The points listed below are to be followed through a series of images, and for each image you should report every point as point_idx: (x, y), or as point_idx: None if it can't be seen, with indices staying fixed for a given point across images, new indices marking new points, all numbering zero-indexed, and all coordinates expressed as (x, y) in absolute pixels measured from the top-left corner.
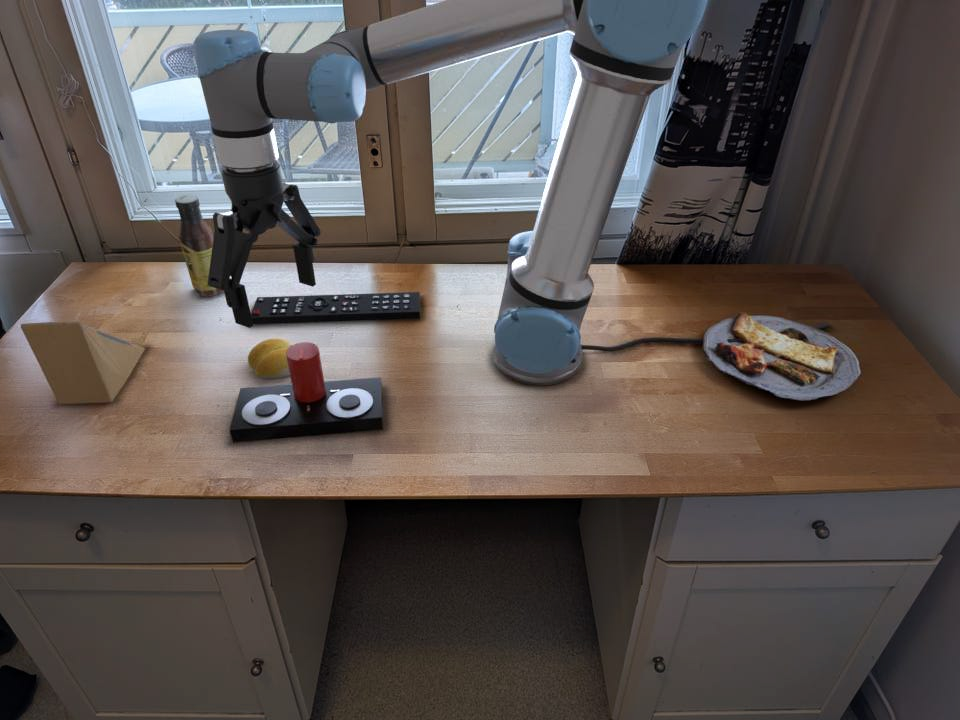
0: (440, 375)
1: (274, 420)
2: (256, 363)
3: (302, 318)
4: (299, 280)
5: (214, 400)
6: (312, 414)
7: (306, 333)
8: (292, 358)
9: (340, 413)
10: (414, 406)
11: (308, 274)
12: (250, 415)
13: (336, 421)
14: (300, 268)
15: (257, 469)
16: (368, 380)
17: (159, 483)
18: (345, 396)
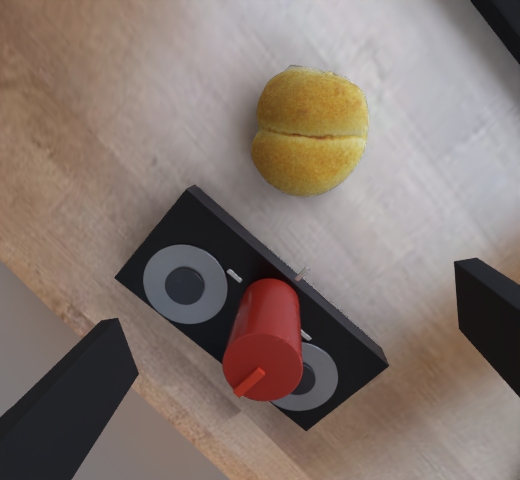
0: (476, 395)
1: (179, 319)
2: (264, 126)
3: (490, 10)
4: (459, 269)
5: (156, 140)
6: None
7: (446, 70)
8: (226, 374)
9: None
10: (378, 411)
11: (488, 349)
12: (155, 279)
13: None
14: (500, 317)
15: (128, 337)
16: (367, 355)
17: (11, 258)
18: None
